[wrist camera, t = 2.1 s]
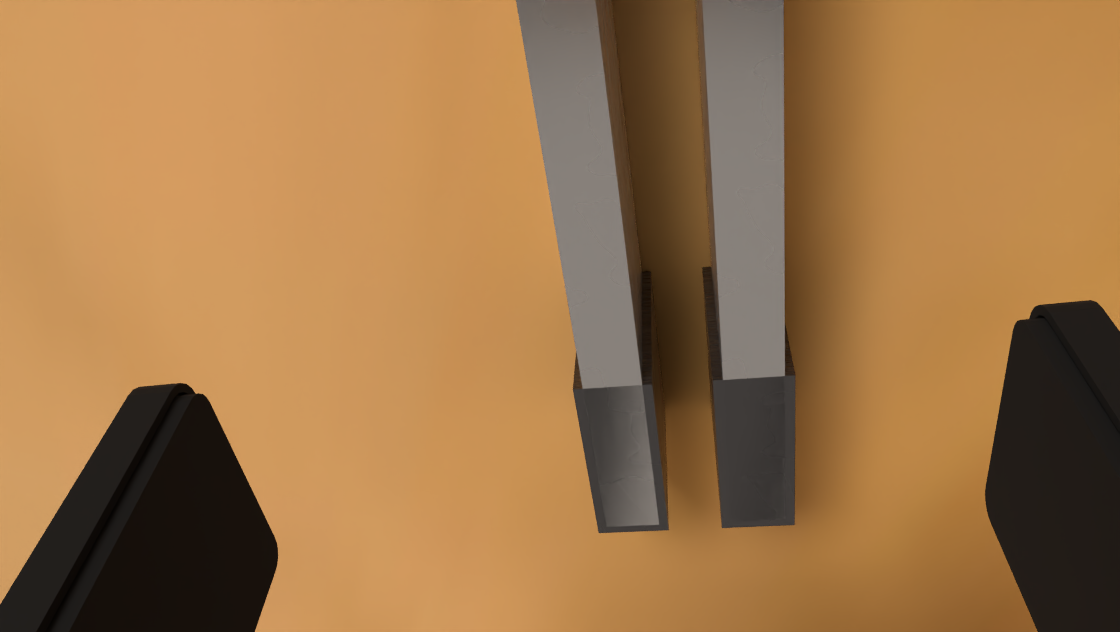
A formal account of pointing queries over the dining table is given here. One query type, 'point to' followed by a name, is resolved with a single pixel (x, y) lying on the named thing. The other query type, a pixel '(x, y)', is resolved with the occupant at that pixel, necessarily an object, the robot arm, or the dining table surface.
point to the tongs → (626, 292)
